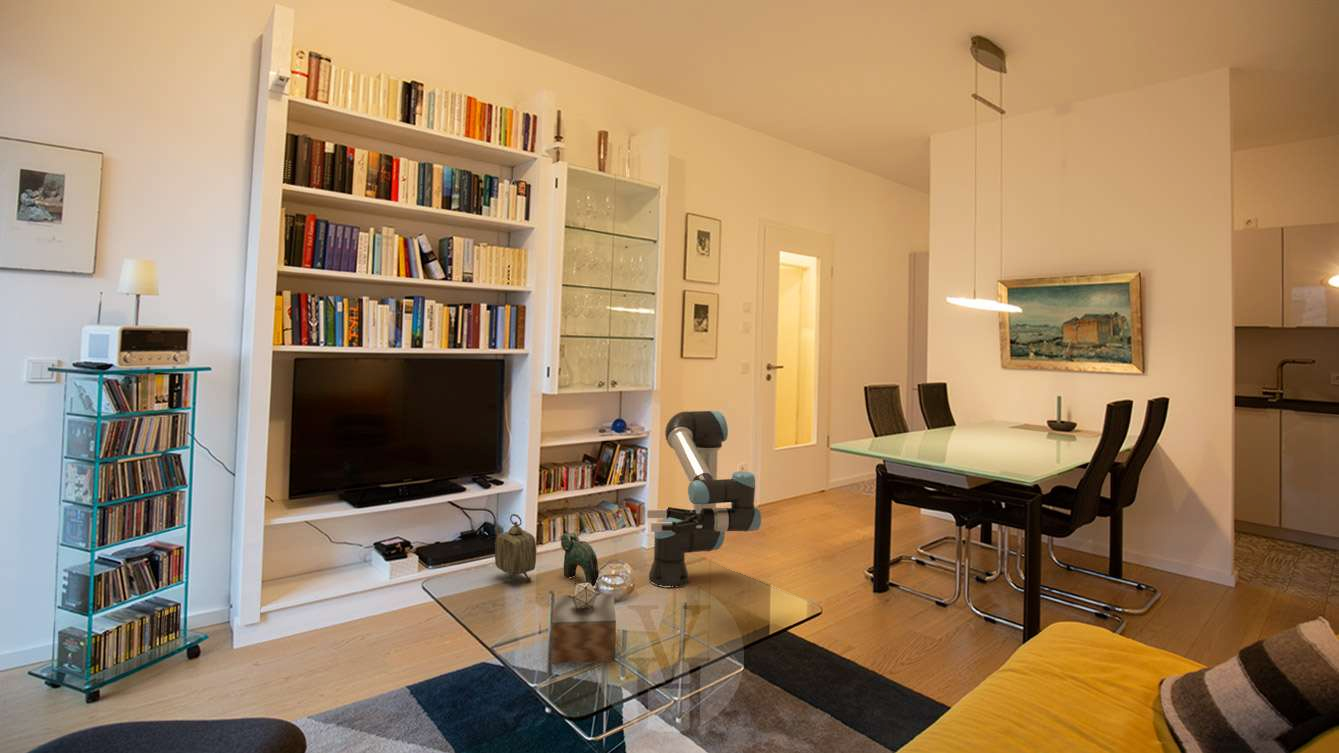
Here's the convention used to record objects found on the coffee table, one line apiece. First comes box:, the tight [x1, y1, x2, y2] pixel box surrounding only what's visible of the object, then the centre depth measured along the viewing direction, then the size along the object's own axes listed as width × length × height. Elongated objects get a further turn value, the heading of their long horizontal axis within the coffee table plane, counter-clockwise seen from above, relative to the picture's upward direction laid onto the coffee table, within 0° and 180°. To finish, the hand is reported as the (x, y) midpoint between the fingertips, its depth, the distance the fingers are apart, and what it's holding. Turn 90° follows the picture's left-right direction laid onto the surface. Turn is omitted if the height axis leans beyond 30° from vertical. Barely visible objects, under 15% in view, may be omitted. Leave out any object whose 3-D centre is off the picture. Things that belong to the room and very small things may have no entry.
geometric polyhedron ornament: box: [568, 580, 600, 611], centre depth 191 cm, size 9×8×10 cm
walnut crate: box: [551, 593, 617, 664], centre depth 192 cm, size 18×18×12 cm
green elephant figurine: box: [560, 528, 600, 586], centre depth 239 cm, size 20×6×20 cm, turn 42°
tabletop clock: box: [494, 513, 537, 583], centre depth 239 cm, size 14×9×25 cm, turn 48°
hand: (649, 520), depth 208 cm, fingers open, 13 cm apart
